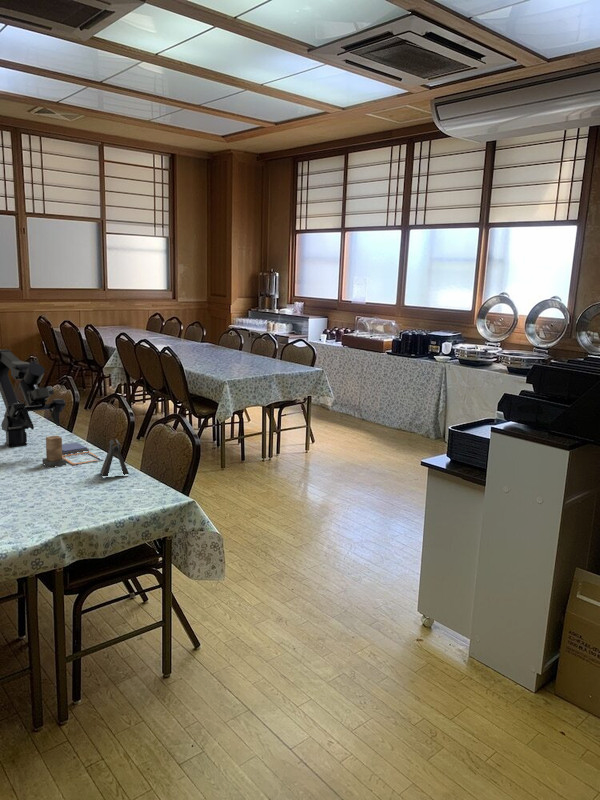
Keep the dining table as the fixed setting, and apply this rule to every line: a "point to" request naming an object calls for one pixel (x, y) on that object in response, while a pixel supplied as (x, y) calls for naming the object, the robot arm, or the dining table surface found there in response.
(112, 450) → the dark brown a-frame stand
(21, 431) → the robot arm
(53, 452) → the stamp
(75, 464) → the marked frame
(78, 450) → the ink pad
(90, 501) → the dining table surface
